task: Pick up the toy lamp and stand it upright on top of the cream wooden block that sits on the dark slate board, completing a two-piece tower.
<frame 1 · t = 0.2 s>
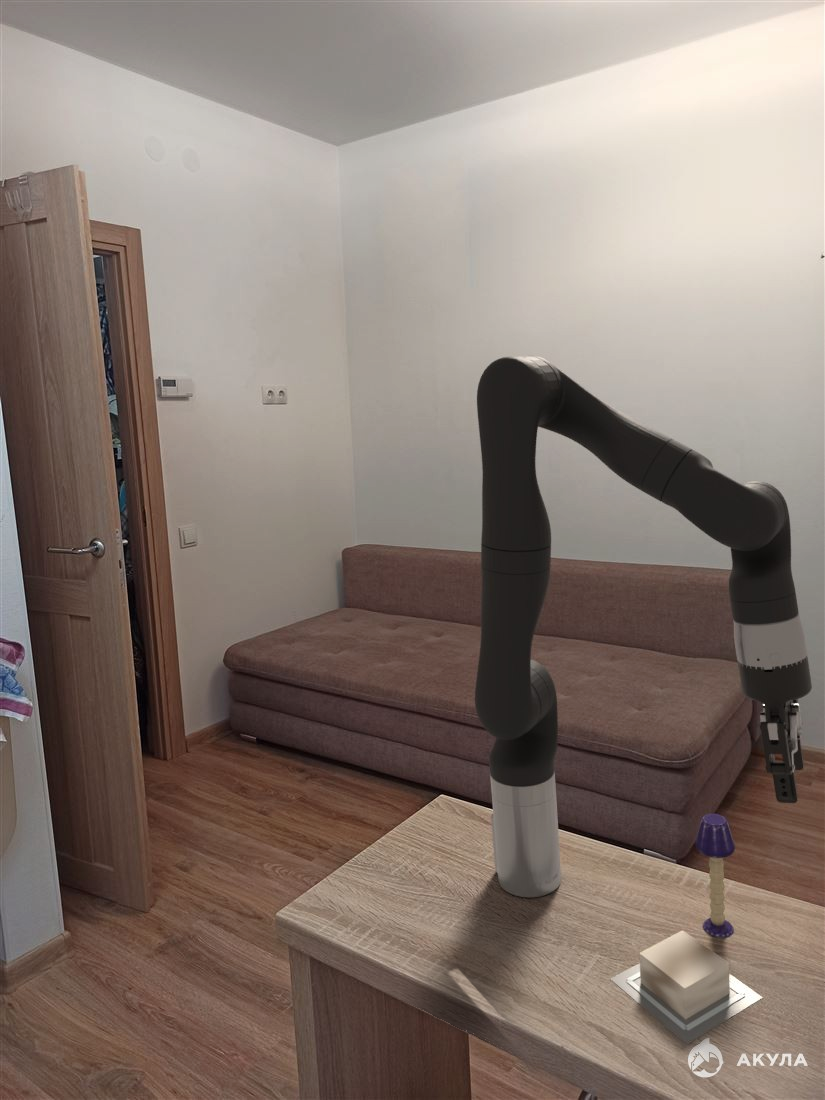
hand: (791, 784, 97), 22 cm above the table, tool pointing down, fingers open, 8 cm apart
toy lamp: (716, 937, 105), on the table
cream block: (684, 987, 96), point 1 cm above the table, touching slate board
slate board: (684, 995, 96), on the table
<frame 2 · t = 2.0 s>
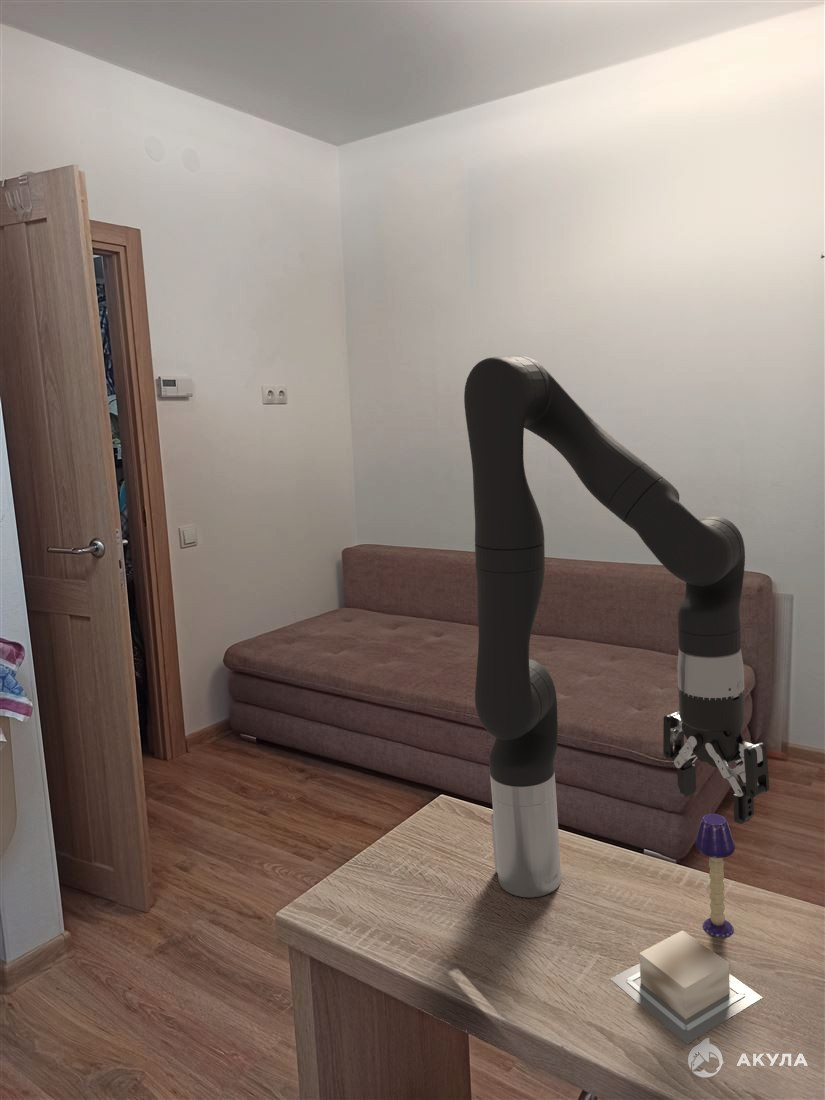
hand: (714, 806, 102), 18 cm above the table, tool pointing down, fingers open, 8 cm apart
nothing on the table moved.
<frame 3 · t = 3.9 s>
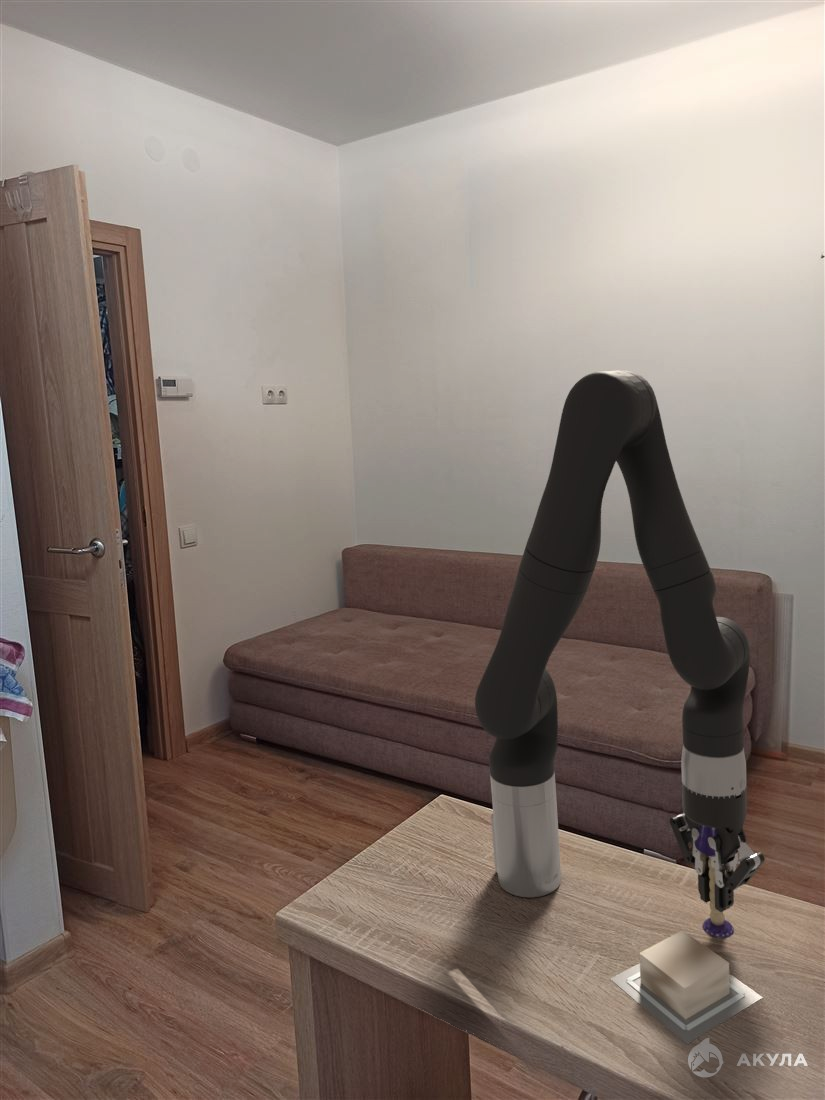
hand: (716, 903, 105), 5 cm above the table, tool pointing down, fingers closed on toy lamp
toy lamp: (716, 937, 105), on the table, touching gripper
everything else where it was.
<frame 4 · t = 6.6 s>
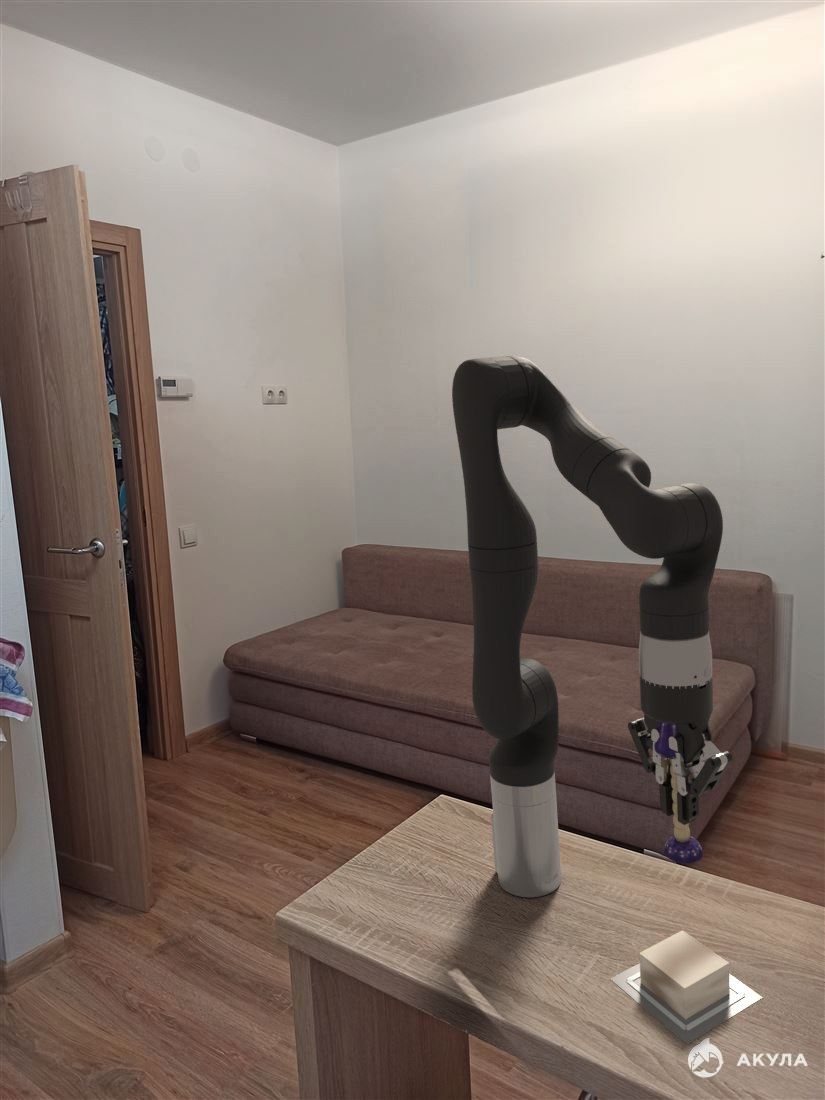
hand: (679, 816, 92), 23 cm above the table, tool pointing down, fingers closed on toy lamp
toy lamp: (681, 856, 93), point 18 cm above the table, touching gripper
everything else where it was.
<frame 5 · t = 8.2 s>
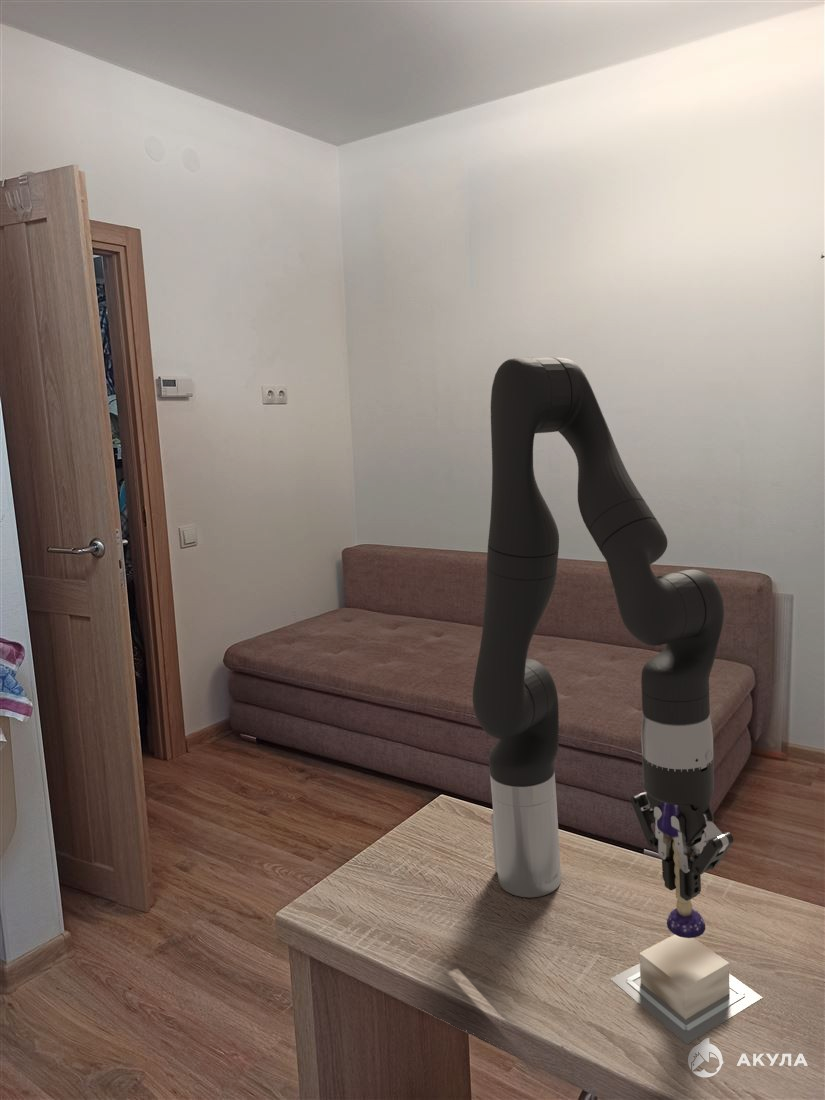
hand: (681, 891, 93), 14 cm above the table, tool pointing down, fingers closed on toy lamp
toy lamp: (684, 929, 94), point 9 cm above the table, touching gripper
everything else where it was.
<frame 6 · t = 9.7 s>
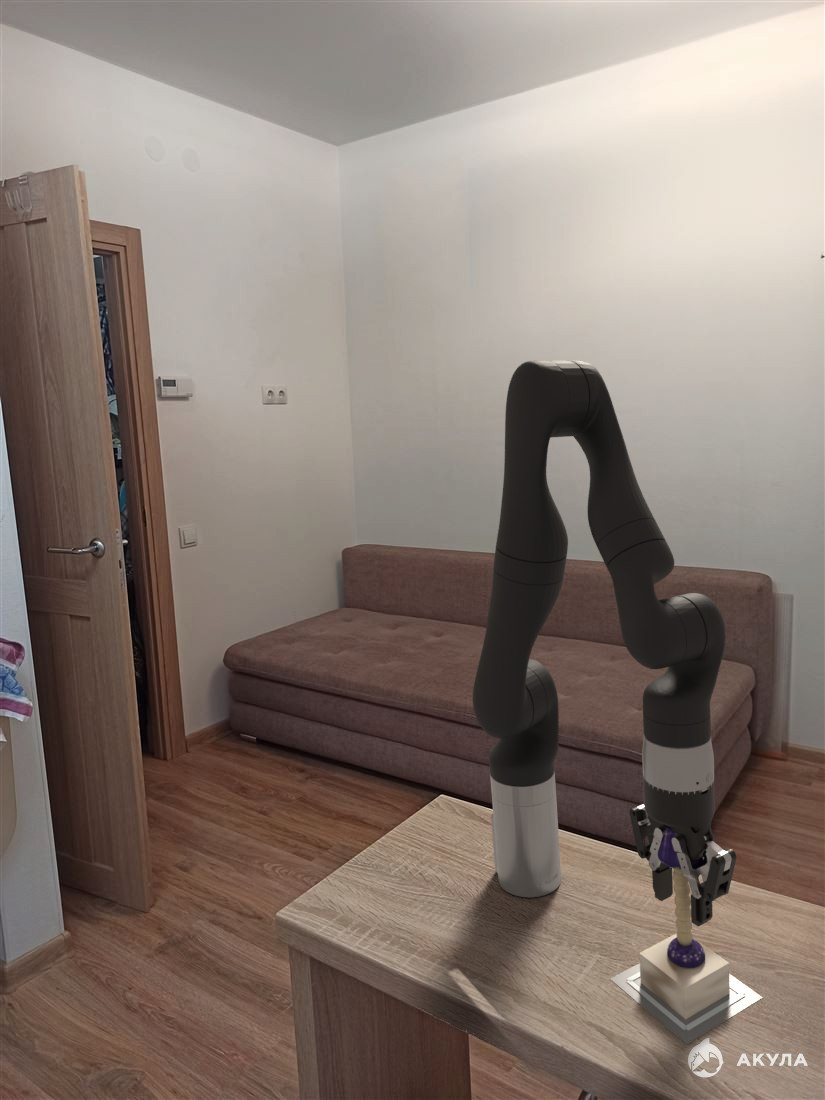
hand: (682, 909, 94), 11 cm above the table, tool pointing down, fingers open, 5 cm apart
toy lamp: (684, 959, 95), point 5 cm above the table, touching cream block
cream block: (684, 987, 96), point 1 cm above the table, touching slate board, toy lamp
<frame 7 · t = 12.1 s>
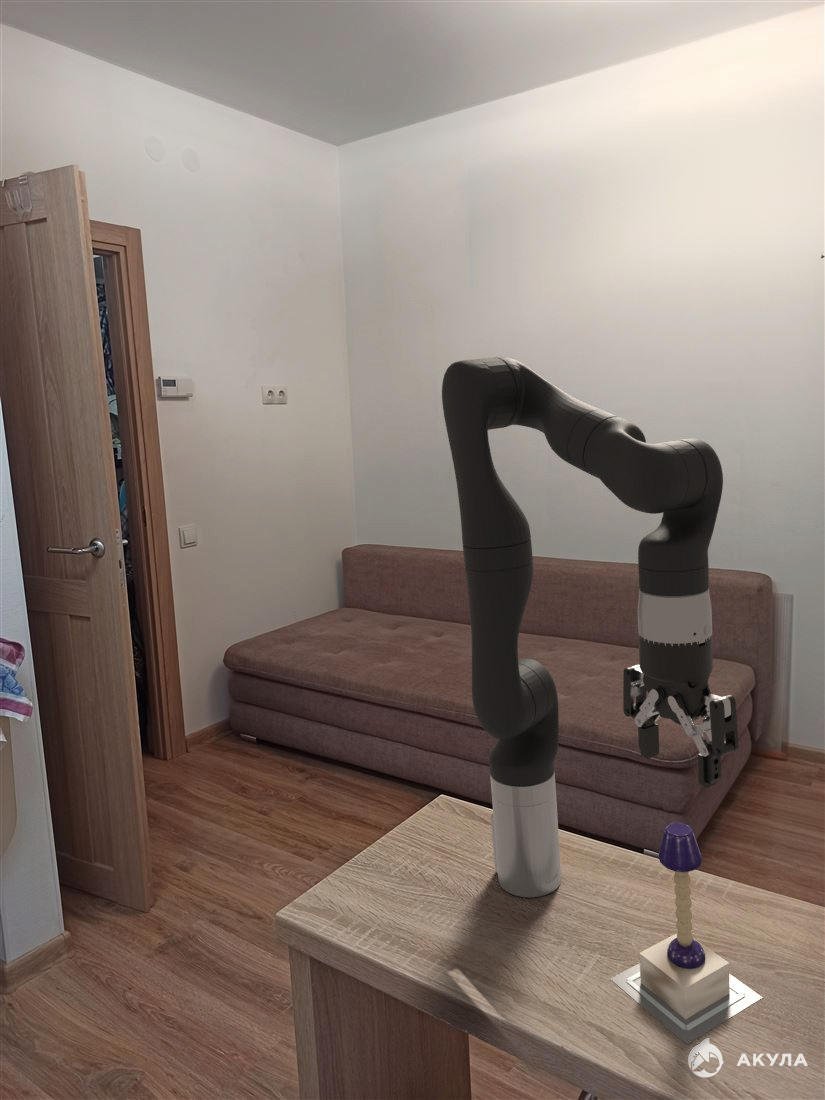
hand: (678, 769, 90), 29 cm above the table, tool pointing down, fingers open, 8 cm apart
nothing on the table moved.
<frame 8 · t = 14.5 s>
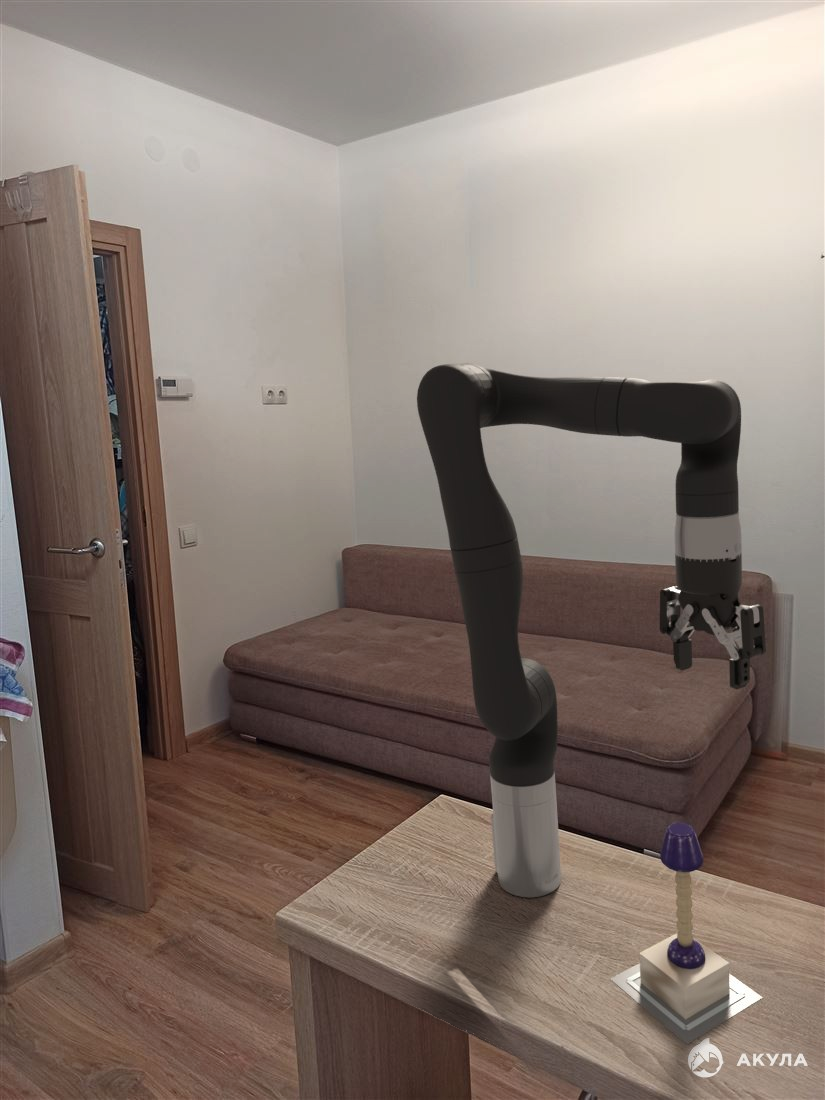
hand: (710, 677, 101), 34 cm above the table, tool pointing down, fingers open, 8 cm apart
nothing on the table moved.
at the end: toy lamp 0.1 cm off-centre on the cream block, point 3.8 cm above the cream block's base; toy lamp tilted 0°; cream block inside the target area on the slate board (0.0 cm from its centre), point 1.0 cm above the slate board's base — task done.
